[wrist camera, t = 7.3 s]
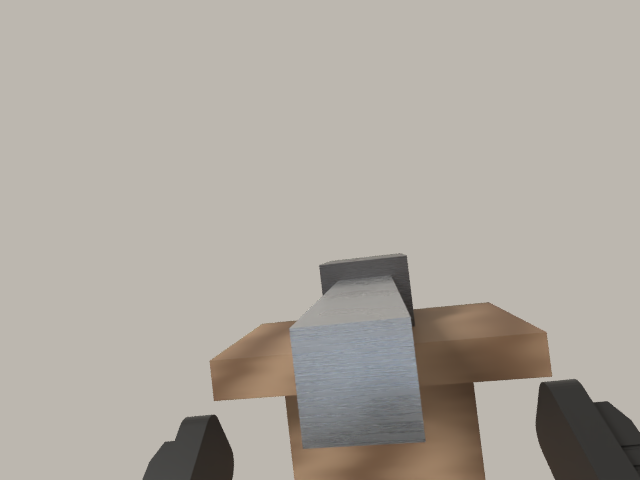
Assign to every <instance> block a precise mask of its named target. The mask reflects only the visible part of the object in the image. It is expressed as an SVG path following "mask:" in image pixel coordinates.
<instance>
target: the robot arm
mask: <svg viewBox="0 0 640 480" xmlns="http://www.w3.org/2000/svg"><path fill="white" fill-rule="evenodd" d="M538 396H539V397H538V405H537V414H536V432H537V437H538V441H539V444H540V446H541V449H542V452H543V454H544V456H545V458H546V460H547V463H548V465H549V467H550V469H551V472H552V474H553V476H554V478H555V480H640V432H639V431H638V429H637V428H636V426H635V425H634V424H633V422H632V421H631V420H630V419H629V418H628V417H626V416H625V415H624V414H623V413H622V412H620V411H619V410H618V409H616V408H615V407H614V406H613V405H612V404H610V403H609V402H607V401H605V402H594V403H593V402H592V400H591V399H590V397H589V395H588V394H587V392H586V391H585V389H584V388H583V386H582V385H581V383H580V382H579V381H577V380H576V379H570V380H560V381H551V382H542V383H541V384H540V387H539V395H538ZM233 470H234V458H233V452H232V449H231V447H230V444H229V442H228V440H227V438H226V435H225V433H224V431H223V429H222V427H221V424H220V422H219V420H218V418H217V416H216V415H205V416H194V417H186V418H185V419H184V420H183V421H182V423H181V425H180V428H179V431H178V433H177V436H176V439H175V441H170V442H164V444H163V445H162V446H161V448H160V449H159V450H158V452H157V453H156V454H155V455H154V457H153V458H152V459H151V461H150V462H149V464H148V467H147V470H146V472H145V475H144V477H143V480H232V477H233Z"/></svg>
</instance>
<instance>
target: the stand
mask: <svg viewBox="0 0 640 480" xmlns="http://www.w3.org/2000/svg"><path fill="white" fill-rule="evenodd" d="M413 313H414V321H415V326H414V327H412V332H413V340H414V349H415V357H416V365H417V374H418V382H419V390H420V399H421V407H422V415H423V423H424V432H425V440H426V442H419V443H401V444H383V445H365V446H347V447H329V448H311V449H303V445H302V436H301V427H300V418H299V409H298V401H297V392H296V383H295V374H294V365H293V357H292V348H291V339H290V330H289V328H290V327H291V326H292V325H293V324H294V323H295V322H296V321H287V322H277V323H266V324H262V325H260V326H259V327H257V328H256V329H254V330H253V331H252V332H250V333H249V334H247V335H246V336H245V337H243V338H242V339H240V340H239V341H237V342H236V343H235V344H233V345H232V346H230V347H229V348H227V349H226V350H225V351H223V352H222V353H220V354H219V355H217V356H216V357H215V358H213V359H212V360H210V368H211V377H212V386H213V396H214V401H220V400H234V399H247V398H262V397H274V396H275V397H276V396H285V399H286V408H287V417H288V426H289V435H290V444H291V453H292V461H293V470H294V479H295V480H485V472H484V464H483V457H482V449H481V441H480V432H479V424H478V416H477V408H476V400H475V392H474V384H473V382H483V381H497V380H511V379H523V378H539V377H552V372H551V364H550V356H549V348H548V340H547V333H546V332H545V331H543V330H541V329H539V328H537V327H535V326H533V325H531V324H530V323H528V322H526V321H524V320H522V319H520V318H518V317H516V316H514V315H512V314H510V313H508V312H506V311H504V310H502V309H501V308H499V307H497V306H494V305H493V304H491V303H489V302H487V303H476V304H466V305H456V306H445V307H434V308H425V309H413Z"/></svg>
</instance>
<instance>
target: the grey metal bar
mask: <svg viewBox="0 0 640 480" xmlns="http://www.w3.org/2000/svg"><path fill="white" fill-rule="evenodd" d="M319 267H320V275H321V284H322V293H323V296H322V297H321V298H320V299H319V300H318V301H317V302H316V303H315V304H314V305H313V306H312V307H311V308H310V309H309V310H308V311H307V312H306V313H305V314H304V315H303V316H302V317H301V318H300V319H299V320H297V321H296V322H295V323H294V324H293V325H292V326H291V327H290V328H289V330H290V339H291V348H292V357H293V365H294V374H295V383H296V392H297V401H298V409H299V418H300V427H301V436H302V445H303V449H311V448H329V447H347V446H365V445H383V444H401V443H419V442H426V440H425V432H424V423H423V415H422V407H421V399H420V390H419V382H418V374H417V365H416V357H415V349H414V340H413V332H412V327H414V326H415V321H414V313H413V306H412V305H413V304H412V297H411V289H410V280H409V272H408V263H407V256H406V255H404V254H400V253H399V254H390V255H382V256H373V257H364V258H355V259H346V260H337V261H330V262H327V263H324V264H322V265H320V266H319Z"/></svg>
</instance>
